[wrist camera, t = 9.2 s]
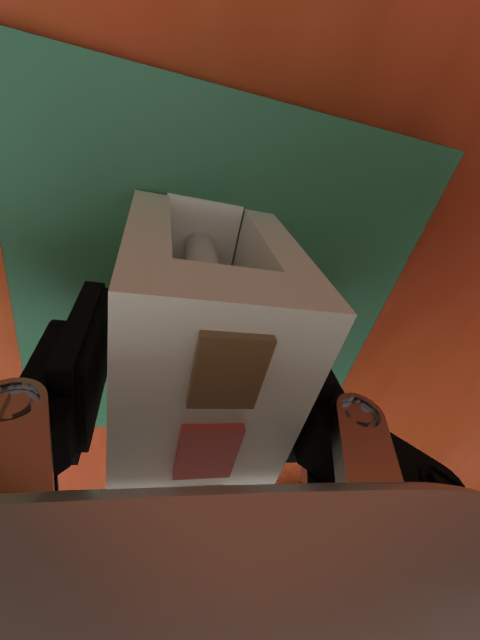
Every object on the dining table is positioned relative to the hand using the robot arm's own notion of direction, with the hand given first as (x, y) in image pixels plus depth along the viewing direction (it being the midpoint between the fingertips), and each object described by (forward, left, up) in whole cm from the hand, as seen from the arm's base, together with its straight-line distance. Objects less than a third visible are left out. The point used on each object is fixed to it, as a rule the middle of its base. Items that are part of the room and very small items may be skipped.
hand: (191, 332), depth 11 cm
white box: (0, 0, -2) cm, 2 cm away
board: (-1, 0, -3) cm, 3 cm away
